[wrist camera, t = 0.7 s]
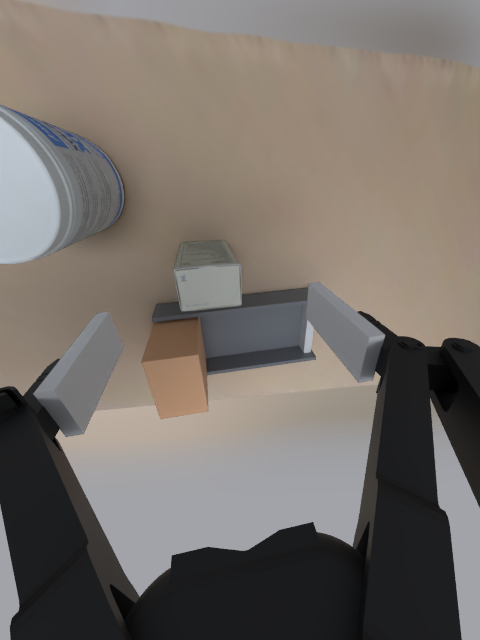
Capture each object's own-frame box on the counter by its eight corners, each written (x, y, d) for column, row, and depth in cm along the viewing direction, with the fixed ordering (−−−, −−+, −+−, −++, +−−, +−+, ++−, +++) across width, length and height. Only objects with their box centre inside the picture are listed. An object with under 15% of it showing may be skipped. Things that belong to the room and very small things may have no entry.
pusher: (169, 362, 39) (160, 419, 30) (157, 313, 34) (141, 362, 25) (206, 357, 40) (208, 411, 30) (198, 309, 35) (198, 354, 26)
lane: (171, 362, 40) (168, 380, 37) (156, 304, 35) (151, 318, 31) (305, 344, 43) (315, 359, 39) (311, 287, 37) (324, 298, 34)
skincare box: (184, 273, 33) (178, 313, 23) (179, 240, 31) (170, 269, 21) (229, 269, 34) (242, 307, 24) (227, 237, 32) (241, 263, 21)
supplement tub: (113, 134, 25) (26, 82, 12) (134, 229, 30) (87, 263, 17) (11, 132, 24) (-204, 72, 11) (50, 232, 28) (-69, 270, 16)
